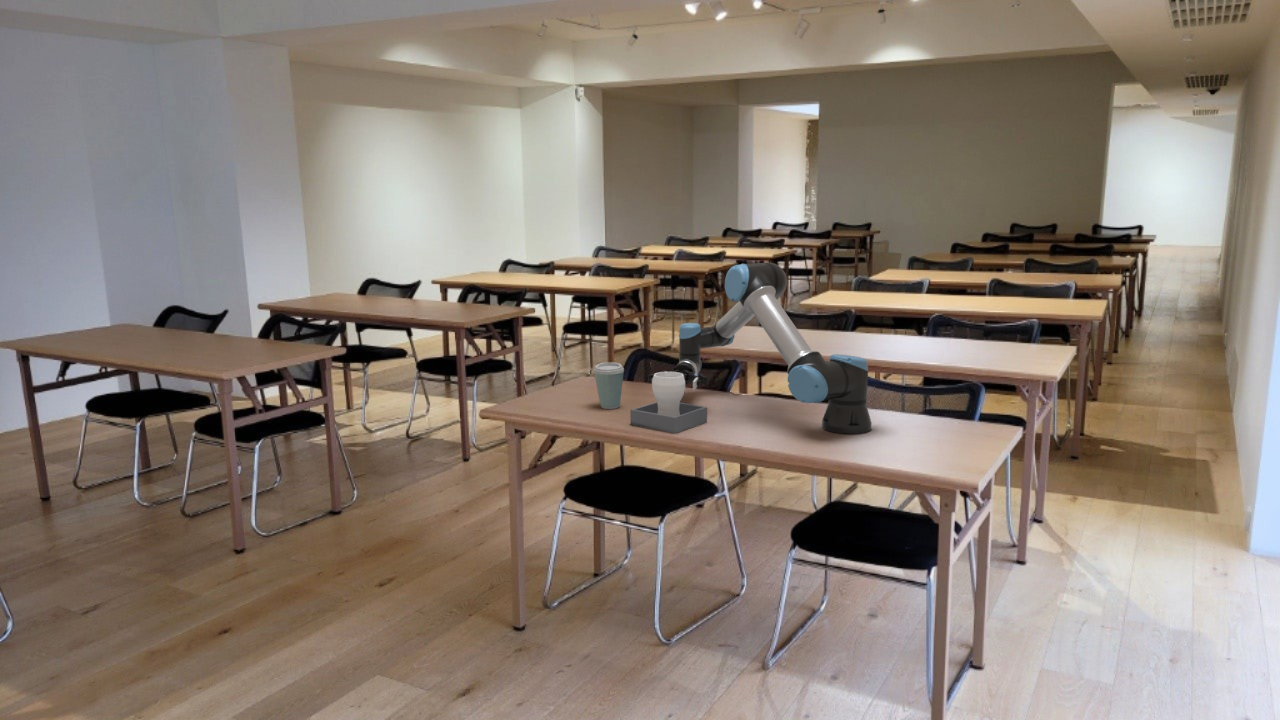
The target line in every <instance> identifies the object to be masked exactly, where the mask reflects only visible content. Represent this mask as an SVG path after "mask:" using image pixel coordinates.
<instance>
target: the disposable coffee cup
mask: <svg viewBox="0 0 1280 720" xmlns="http://www.w3.org/2000/svg"><path fill="white" fill-rule="evenodd" d="M624 372H625V368H624V367H623V365H622V364H621V363H619V362H613V361H612V362H611V361H610V362H601V363H598V364H596V365H595V366H594V368H593V373H594V377H595V378H594V379H595V383H596V384H595V385H596V388H597V395H598V401H599V405H600V407H601V408H602V409H604V410H614V409H618V408H620V405H621V399H622V390H623V381H624V374H625V373H624Z"/></svg>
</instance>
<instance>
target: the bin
mask: <svg viewBox="0 0 1280 720" xmlns="http://www.w3.org/2000/svg"><path fill="white" fill-rule="evenodd" d="M679 412H680V415H679V416H676V417H672V416H666V415H661V414H657V413H658V405H657V401H655V402H651V403H647V404H645V405H642V406H638V407H635V408H631V409H630V425H631V426H635V427H639V428H645V429H649V430H655V431H659V432H660V431H661V432H663V433H664V432H665V433H670V434H674V435H675V434H679V433H680V432H683V431H687V430H689V429H692V428H694V427H697V426H701V425H703V424H705V423H708V406H702V405H696V404H690V403H686V402H685V403H684V402H680V406H679Z"/></svg>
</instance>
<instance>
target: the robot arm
mask: <svg viewBox="0 0 1280 720" xmlns="http://www.w3.org/2000/svg"><path fill="white" fill-rule="evenodd" d="M787 285H788V279H787V275H786V272H785V271H784V269H783V268H782V267H781V266H779V265H778V264H776V263H774V262H760V263H759V262H757V263H741V264H736V265H733V266H731V267H730V268H729V270H728V271H727V272H726V276H725V278H724V291H725V294H726V296H727V298H728V299H729V300H730V301H733V302H737V303H736V304H734V306H732V307H731V308H730V309H729V310H728V311H727V312H726V313H725V314H724V315H723V316H722V317H721V318H720V319H719V320H717V322H716V323H715V324H713V325H712V326H705V327H701V324H699V323H696V322H686V323H685V322H684V323H682V324H680V325H679V329H678V330H679V331H678V333H679V334H678V339H679V340H678V341H679V344H678V345H679V353H678V356H679V357H678V359H679V360H678V363H677V364H676V365H675V366H674V368H673V369H672V371H670V372H678V373H682V374H683V375H684V379H685V385H688V384H690V383H691V384H692V390H693V391H694V390H696V389H697V388H698V387H699V386H703V385H704V386H708V383H709V382H708V381H709V380H708V377H707V376H706V375H705V374H703V372H702V371H701V369H702V364H703V363H702V360H701V349H709V348H717V347H719V348H720V347H725V346H729V345H731V344H733V342H734V339H735V334H737V333H738V332H739V331H740V330H741V329H742V328H743V327H744V326H745V325H747V324H748V322H750V321H751V320H752V319H753V318H754V317H755V318H756V320H757V321H758V323H760V326H761V327H762V328H763V330H764V332H765V333H766V334H767V336H768V337H769V339H770V340H771V342H772V344H773V345H774V346H775V348H776V349H777V351H778V353H779V354H780V355H781V357H782V359H783V360H784V362H785V363H786V364H787V366H788V367H787V372H786V373H787V374H788V375H787V380H786V381H787V383H788V385H787V386H788V389H789V392H790V394H791V395H792V396H793V397H794V398H795V399H796V401H797V400H798V401H799V402H801V403H805V404H817V403H818V404H819V403H820V402H823V401H824V402H826V401H828V404H827V406H826V409H825V412H824V414H823V417H822V422H821V427H822V429H823V430H825V431H828V432H831V433H835V434H846V435H847V434H848V435H855V434H856V435H857V434H866V433H868V432H870V431H872V420H871V416H870V413H869V410H868V406H867V404H868V403H867V400H868V379H869V365H868V364H869V362H868V360H867V359H865V358H864V357H861V356H855V355H850V354H849V355H847V354H838V353H837V354H836V353H835V354H831V355H830V357H829V359H828V361H826V360H825V359H824V357H823V355H822V354H821V353H820V352H819V351H817V350H812V348H811V347H810V345H809V344H808V343H807V341H806V340H805V338H804V337H803V336H802V334H801V332H800V331H799V330H798V328H797V327H796V326H795V324H794V322H793V321H792V320H791V319H790V317H789V315H788V314H787V312H786V311H785V309H784V308H783V307H782V304H780V302H779V301H778V299H780V298H781V296H782V295H783V294H784V293H785V291H786V288H787ZM661 372H667V370H662V371H661ZM654 374H655V373H651V374H648V375H647V376H648V378H647V379H648V380H647V381H648V383H649V384H650V383H651V385H652V381H653V376H654Z"/></svg>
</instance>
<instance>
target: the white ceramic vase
mask: <svg viewBox="0 0 1280 720" xmlns="http://www.w3.org/2000/svg"><path fill="white" fill-rule="evenodd" d="M653 374H654V376H653V381H652V384H651V389H652V393H653V396H654V398H655V400H656V402H657V405H658V413H657V414H661V415H666V416H672V417H676V416H679V415H680V412H679V406H680V403H681V400H682V399H683V397H684V394H685V390H686V384H685V379H684V375H683V374H682V373H678V372H671V371H666V372H662V371H660V372H656V373H653Z"/></svg>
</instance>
